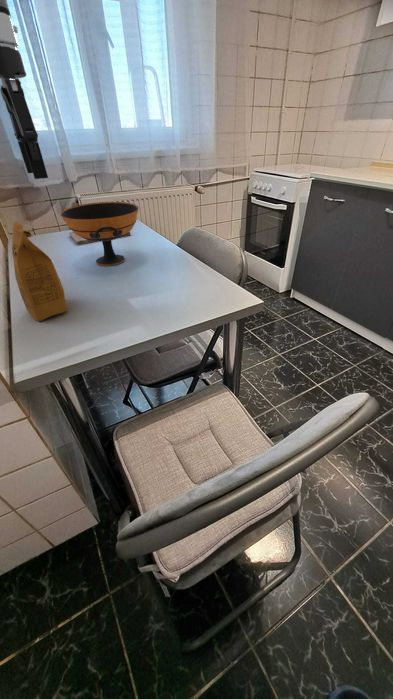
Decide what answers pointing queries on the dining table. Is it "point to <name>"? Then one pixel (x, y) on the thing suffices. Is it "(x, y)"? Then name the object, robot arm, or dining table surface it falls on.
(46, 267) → the coffee package
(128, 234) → the chopping board
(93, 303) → the dining table surface
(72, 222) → the footed pedestal bowl
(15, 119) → the robot arm
